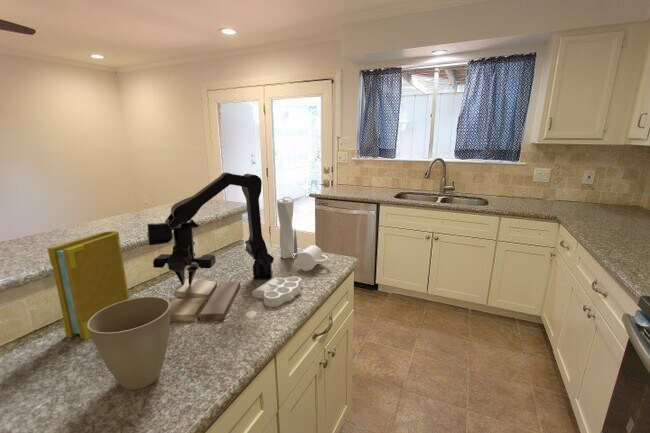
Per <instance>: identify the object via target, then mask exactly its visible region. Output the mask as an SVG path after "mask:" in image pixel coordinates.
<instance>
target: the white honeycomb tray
mask: <svg viewBox="0 0 650 433" xmlns="http://www.w3.org/2000/svg"><path fill="white" fill-rule="evenodd" d="M302 283H303V282H302V279H301V278H300V277H299V276H288V277H276V276H275V277H271V279H269V280H267V281H266V282H264V283H263V284H262V285H260V286H258V287H257V288H255V289H252V292H251V294H252V296H253V297H255V298H258V299H263V303H264V305H265V306H267V307H271V308H274V307H279V306H281V304H284V303H285V302H290V301H292V300H293V299H294V297H296V296H298V295H299V293H300V292H303V290H302V285H303V284H302Z"/></svg>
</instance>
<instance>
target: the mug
mask: <svg viewBox="0 0 650 433" xmlns="http://www.w3.org/2000/svg"><path fill="white" fill-rule="evenodd" d="M295 260H296V262H295V263H296V265H297V267H298V268H299V269H300V270H301V271H304V272H309V271H311V270H312V269H314V268H315V267H316V266H317V265H318V264H320V265H322V264H326V263H328V262H329V257H328V256H327V255H325V254H324V253H323V250H322V249H321V248H320V247H319V246H317V245H315V244H314V245H312V244H311V245H309V246H307V247H306V248H305V249H303V250H302V251H301V252H300V253H298V254H297V257H296V258H295Z"/></svg>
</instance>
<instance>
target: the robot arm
mask: <svg viewBox="0 0 650 433" xmlns="http://www.w3.org/2000/svg"><path fill="white" fill-rule="evenodd" d="M231 185H232V186H236V187H237V186H238V187H240V188H241V191H242V192H243V193H242V194H243V195H244V198H245V200H246V201H245V202H246V210H247V211H246V212H247V213H246V214H247V220H248V221H247V222H248V231H249V232H248V234H249V236H248V240H247V239H245V240H244V245H245V248H244V249H245V251H246V252H247V255H249V256H250V257H251V258H252V259H253V260H254V261H253V265H252V274H253V280H268V279H269V280H270V279H272V276H273V272H274V271H273V270H272V269H273V267H272V264H273V263H274V259H275V257H274V256H272V255H271V254H270V253H269V251H268V248H267V244H266V242H265V239H264V237H263V234H262V220H261V210H260V198H261V197H260V196H261V193H262V187H263V186H262V185H263V182H262V179H261V177H259V176H258V175H256V174H252V173H244V174H243V175H241V174H235V173H230V172H222V173H221V174H220V176H219V177H217V178H216V179H214V180H212V182H210V183H208V184H207V185H206V186H205V187H203V188H202V189H201V190H199V191H198V192H196V193H195V194H193V195H192V196H189V197H187V198H184V199H182V200H180V201H178V202H176V203H175V204H172V206H171V209H170V214H169V215H168V216H167V218H166V219H165V221H164V222H159V223H153V222H151V223H147V225H146V226H147V232H146V236H147V244H148V246H149V247H150V246H160V245H164V244H165V245H166V244H169V243H170V242H171V241H172V240H173V242H174V245H173V246H172V251H171V254H170V253H169V254H168V253H161V254H159V255H158V256H156V257H155V258H154V259H153V261H152V267H153V268H155V269H156V268H161V269H162V268H164V267H165V266H166V264H167V268H168V270H169V271H172V272H174V273H175V275H176V276H177V278H178V280H179V282H180V284H182V285H184V284H185V279H186V277H185V269H186V267H187V266H188V268H187V272H188V278H189V285H191V284H192V281H193V279H195V275H196V272H197V270H198V269H199V268H200V269H211V268H212V267H213V266H214V265H215V264H216V256H215V255H214V254H203V255H202V256H201V257H195V256H196V252H195V251H194V246H195V244H196V243H195V241H194V234H193V232H194V231H193V229H195V228H199V227H200V226H199V224H198V223H197V222H195V221H194V219H193V218H194V217H195V216H196V214H197V213H198V212H199V210H200V209H201V208H202V207H203V206H204V205H205V204H206V203H209V201H210V200H212V199H213V198H215V197H216V196H217V195H218V194H220V193H221V192H223V190H225V189H227V188H228V187H229V186H231Z"/></svg>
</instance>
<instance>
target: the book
mask: <svg viewBox="0 0 650 433" xmlns="http://www.w3.org/2000/svg"><path fill="white" fill-rule="evenodd" d="M46 249H47V253H48V257H49V262H50V266H51V267H52V269H53V271H52V272H53V275H54V280H55V284H56V289H57V290H56V291H57V293H58V298H59V304H60V308H61V314H62V318H63V320H62V323H63V328H64V333H65V337H67V338H73V337H75V336H76V335H79V336H80V339H81V340H85V341H86V340H89V339H90V338H92V337H91V335H90V332H89V330H88V327H87V323H88V321H89V319H90V318H91V317H92V316H93V315H94V314H96V313H97V312H99V311H100V310H102V309H104V308H106V307H108V306H110V305H113V304H115V303H118V302H121V301H124V300H128V299H130V297H129V290H128V284H127V277H126V272H125V265H124V258H123V253H122V246H121V239H120V234H119V231H117V230H108V231H107V230H106V231H102V232H98V233H94V234H91V235H87V236H85V237H84V236H83V237H82V238H78V239H74V240H71V241H68V242H64V243H60V244H56V245H54V246H53V245H52V246H50V247H47V248H46Z"/></svg>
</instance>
